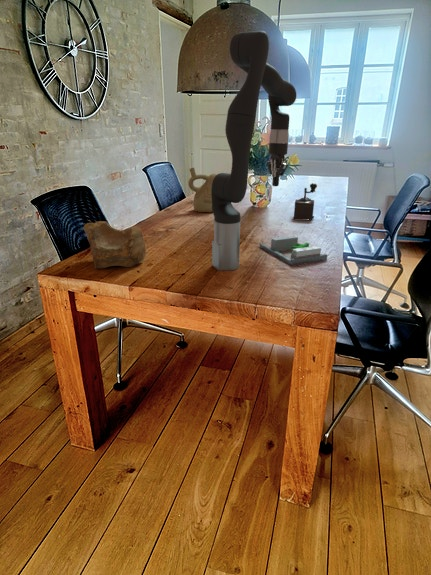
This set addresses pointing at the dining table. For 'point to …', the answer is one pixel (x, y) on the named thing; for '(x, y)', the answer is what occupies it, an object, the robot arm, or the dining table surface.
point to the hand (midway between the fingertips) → (275, 186)
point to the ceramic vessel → (202, 192)
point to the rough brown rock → (115, 245)
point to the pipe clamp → (300, 246)
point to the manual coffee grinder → (305, 205)
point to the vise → (299, 255)
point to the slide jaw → (284, 243)
